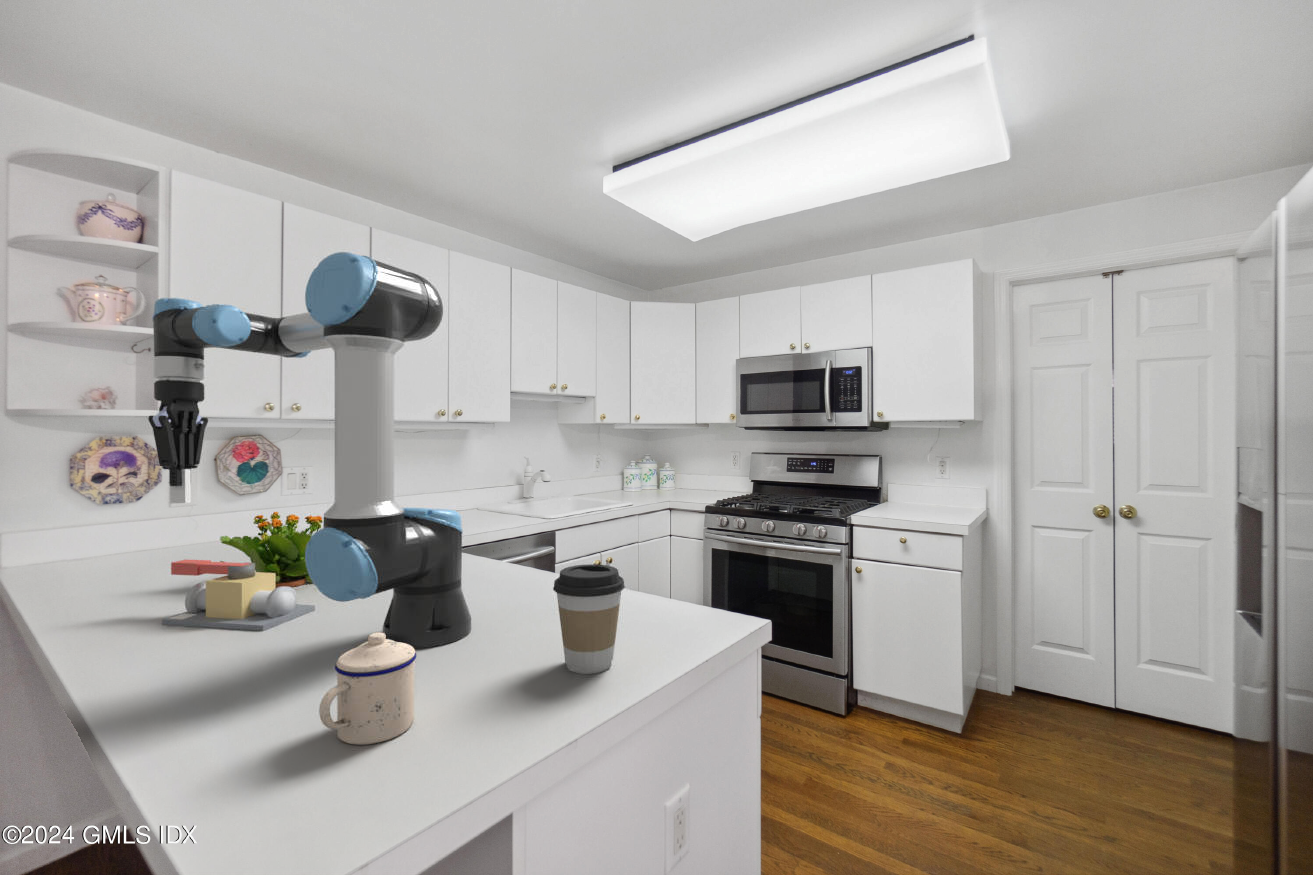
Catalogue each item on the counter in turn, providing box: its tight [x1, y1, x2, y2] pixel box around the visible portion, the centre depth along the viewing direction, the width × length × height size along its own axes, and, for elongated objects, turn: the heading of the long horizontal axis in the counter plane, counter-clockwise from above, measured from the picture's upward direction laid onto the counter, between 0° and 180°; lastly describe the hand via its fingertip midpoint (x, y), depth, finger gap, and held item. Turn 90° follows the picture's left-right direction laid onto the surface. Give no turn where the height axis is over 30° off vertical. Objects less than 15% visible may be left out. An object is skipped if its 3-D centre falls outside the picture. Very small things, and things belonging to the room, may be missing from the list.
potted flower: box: [219, 511, 323, 588], centre depth 141 cm, size 25×24×18 cm
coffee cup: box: [552, 563, 626, 675], centre depth 92 cm, size 11×11×15 cm
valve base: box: [161, 571, 316, 632], centre depth 116 cm, size 22×13×8 cm, turn 81°
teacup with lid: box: [318, 632, 417, 746], centre depth 71 cm, size 12×9×12 cm
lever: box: [170, 559, 256, 580], centre depth 117 cm, size 17×4×3 cm, turn 82°
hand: (180, 502), depth 112 cm, fingers closed
